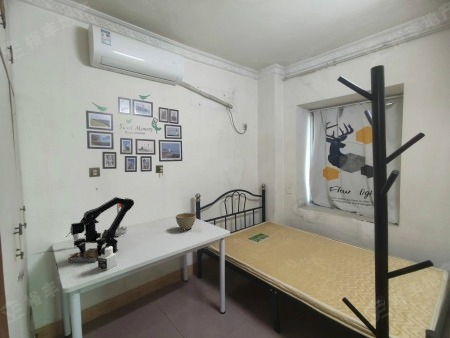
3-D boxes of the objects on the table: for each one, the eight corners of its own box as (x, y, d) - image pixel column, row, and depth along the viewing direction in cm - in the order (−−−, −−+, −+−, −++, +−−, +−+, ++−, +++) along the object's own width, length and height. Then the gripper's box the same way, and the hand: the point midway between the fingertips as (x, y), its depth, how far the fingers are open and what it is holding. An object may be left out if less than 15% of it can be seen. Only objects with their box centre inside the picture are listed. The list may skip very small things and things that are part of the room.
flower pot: (179, 233, 188) (179, 219, 187) (173, 227, 203) (173, 214, 203) (199, 229, 197) (198, 216, 196) (191, 224, 212) (191, 212, 212)
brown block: (99, 255, 145) (98, 248, 145) (93, 259, 139) (93, 252, 139) (89, 255, 145) (89, 248, 145) (84, 260, 139) (83, 252, 139)
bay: (109, 250, 154) (109, 242, 153) (95, 262, 136) (95, 253, 136) (80, 251, 153) (80, 243, 153) (62, 263, 136) (62, 254, 136)
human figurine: (67, 250, 155) (66, 225, 154) (65, 249, 157) (64, 224, 157) (86, 245, 165) (85, 221, 164) (84, 244, 167) (82, 220, 166)
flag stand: (118, 238, 178) (117, 201, 177) (106, 236, 183) (105, 200, 182) (131, 233, 190) (129, 198, 189) (119, 231, 195) (118, 198, 194)
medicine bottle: (97, 268, 128) (97, 248, 128) (108, 263, 135) (107, 244, 134) (107, 270, 126) (106, 250, 125) (117, 265, 132) (116, 245, 132)
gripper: (111, 226, 150) (112, 249, 150) (83, 227, 149) (84, 249, 150) (102, 232, 139) (103, 256, 139) (72, 232, 138) (73, 257, 139)
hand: (91, 254), depth 142 cm, fingers open, 9 cm apart
